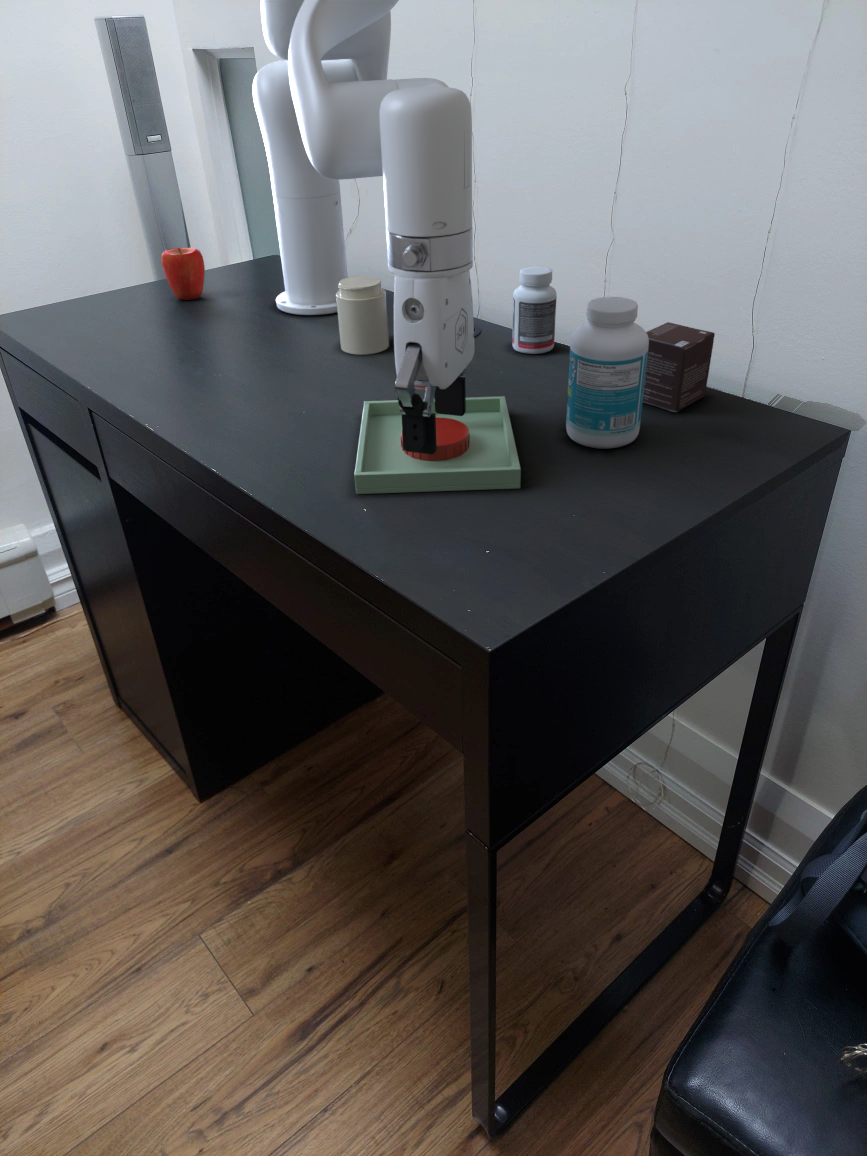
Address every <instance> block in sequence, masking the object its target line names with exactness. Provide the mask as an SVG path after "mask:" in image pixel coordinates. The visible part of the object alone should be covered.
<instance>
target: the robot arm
mask: <svg viewBox="0 0 867 1156" xmlns="http://www.w3.org/2000/svg"><path fill="white" fill-rule="evenodd" d="M399 1H400V0H259V3H260V16H261V17H260V18H261V27H262V33H263V38H264V41H265V44H266V46H267V48H268V49H269V51H270V52H271V53H272V54H273V55H274V56H275V57H277V58H279V59H281V60H275V61H271V62H269V63H267V64H265V65H264V66H262V67H261V68H259V70H258V71H257V72H256V74H255V76H254V78H253V81H252V100H253V104H254V109H255V113H256V116H257V120H258V124H259V128H260V132H261V135H262V140H263V143H264V144H263V145H264V147H265V152H266V153H265V154H266V157H267V163H268V169H269V170H268V171H269V176H270V186H271V192H272V199H273V206H274V215H275V222H276V230H277V231H276V232H277V238H278V245H279V246H278V247H279V253H280V261H281V268H282V269H281V270H282V276H283V284H284V285H283V286H284V291H282V292H281V293H279V294H278V295H277V296H276V298H275V304H276V308H277V309H278V310H280V311H282V312H283V313H287V314H292V315H297V316H298V315H300V316H320V315H329V314H330V315H331V314H335V313H337V302H336V293H337V292H338V291H339V287H338V284H339V281H340V280H342V279H344V278H348V277H349V276H348V264H347V253H346V252H347V251H346V243H345V241H346V240H345V230H344V219H343V207H342V198H341V197H342V195H341V184H340V180H353V179H365V178H375V177H382V182H383V185H382V186H383V200H384V216H385V217H384V218H385V236H386V253H387V269H388V272H390V273H391V274H393V275H394V288H393V346H394V347H393V350H394V365H395V373H396V379H395V382H394V390H395V392H396V395H397V398H396V400H398V402H399V406H400V414H402V432H403V448H404V450H405V451H408V452H416V453H423V454H434V453H435V452H436V450H437V440H436V413H438V414H446V415H455V416H463V415H464V414H465V412H466V398H467V397H466V394H467V392H466V391H467V390H466V386H467V385H466V377H465V376H466V373H467V367H468V366H469V364H470V363H471V362H472V360H473V359H474V356H475V349H476V347H475V326H474V325H475V324H474V304H473V291H472V290H473V289H472V279H471V269H473V267H474V265H473V263H474V262H473V261H474V250H473V249H474V248H473V245H474V243H473V241H474V240H473V234H474V231H473V228H474V227H473V114H472V112H473V111H472V105H471V102H470V99H469V97H468V95H467V94H466V93H465V92H464V91H463V90H461V89H458V88H456V87H450V86H449V85H448V84H446V83H445V82H444V81H442V80H440V79H437V78H432V77H414V78H399V79H398V78H396V79H392V78H391V79H388V71H389V61H390V49H391V48H390V47H391V36H392V35H391V34H392V31H391V30H392V16H391V15H392V14H391V11H392V9H394V7H395V6H396V5H397V3H398V2H399ZM417 376H418V377H426V378H427V379H428V380H425V379H417ZM416 390H425V392H424V397H423V398H422V396H421V395H420V394H419V393H416ZM422 399H424V401H423V400H422ZM434 399H435V412H436V413H431V412H432V407H433V401H434Z"/></svg>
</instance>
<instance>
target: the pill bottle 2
mask: <svg viewBox="0 0 867 1156" xmlns="http://www.w3.org/2000/svg"><path fill="white" fill-rule="evenodd" d="M638 309H639V304H638V302H637V301H636V300H634V299H631V298H627V297H622V296H602V297H597V298H593V299H591V300H589V301H588V302H587V304H586V315H585V316H586V320H587V321H586V322H585V323H582V324H581V325H579V326H578V327H577V328H576V329H575V330H574V331H573V333H572V334H571V337H570V342H569V343H570V344H569V361H568V363H569V364H568V382H567V383H568V384H567V402H566V416H565V417H566V418H565V429H566V434H567V435H568V437H569V438H570V439H571V440H572V441H574V442H575V443H576V444H579V445H581V446H584V447H587V448H593V449H601V450H602V449H604V450H605V449H608V450H609V449H617V448H621V447H625V446H627V445H630V444H631V443H633V442H634V441H635V440H636V439H637V438H638V435H639V434H640V433H639V432H640V429H641V420H642V412H643V403H642V402H643V393H644V383H645V374H646V365H647V357H648V347H649V338H648V335H647V333H646V332H647V331H646V330H645V329H644V328H643V327H642V326H640V325H639V324H638V323H636V322H635V321H636V319H637V318H638Z"/></svg>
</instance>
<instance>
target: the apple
mask: <svg viewBox="0 0 867 1156" xmlns="http://www.w3.org/2000/svg"><path fill="white" fill-rule="evenodd" d="M161 265H162V266H161V267H162V269H163V272H164V276H165V278H166V281H167V283H168V285H169V287H170V289H171V291H172V293H173V295H174V296H175V297H176V298H177V299H178V300H180V301H181V300H182V301H190V300H192V301H193V300H196V299H199V298H200V297H201V295H202V294H203V291H204V285H205V284H204V283H205V275H206V273H205V272H206V271H205V269H206V268H205V267H206V266H205V261H204V256H203V254H202V252H201V251H200V250H199V249H198V248H195V247H176V248H169V249H165V250H164V251H163V252H162V253H161Z"/></svg>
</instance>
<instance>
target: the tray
mask: <svg viewBox="0 0 867 1156" xmlns="http://www.w3.org/2000/svg"><path fill="white" fill-rule="evenodd" d="M422 400H423V401H424V398H422ZM431 413H436V412H435V398H434V401H433V407H432V412H431ZM436 418H449V419H454V420H457V421H460V422H462V423H464V424H465V425H466V426H467V427H468V429H469V433H470V443H469V448H468V449H467V451H466V452H465V453H463V454H462V455H460V456H458V457H455V458H452V459H448V460H441V461H426V460H419V459H416V458H413V457H410V456H408V455H407V454H405V453H404V451H402V447H401V431H402V414H400V406H399V402H398V400H397V399H393V400H391V399H389V400H365V401H363V409H362V416H361V423H360V431H359V438H358V444H357V453H356V461H355V467H354V468H355V469H354V475H353V477H354V486H355V494H356V495H369V494H372V495H373V494H397V493H425V492H430V493H431V492H450V491H451V492H453V491H455V492H456V491H482V490H485V491H486V490H511V489H521V479H522V478H521V477H522V469H521V463H520V460H519V455H518V450H517V446H516V442H515V441H516V440H515V436H514V432H513V428H512V423H511V422H512V421H511V418H510V413H509V410H508V404H507V399H506V396H504V395H503V396H502V395H501V396H476V397H475V396H472V397H466V412H465V414H464V415H463V416H455V415H446V414H438V413H436Z"/></svg>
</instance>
